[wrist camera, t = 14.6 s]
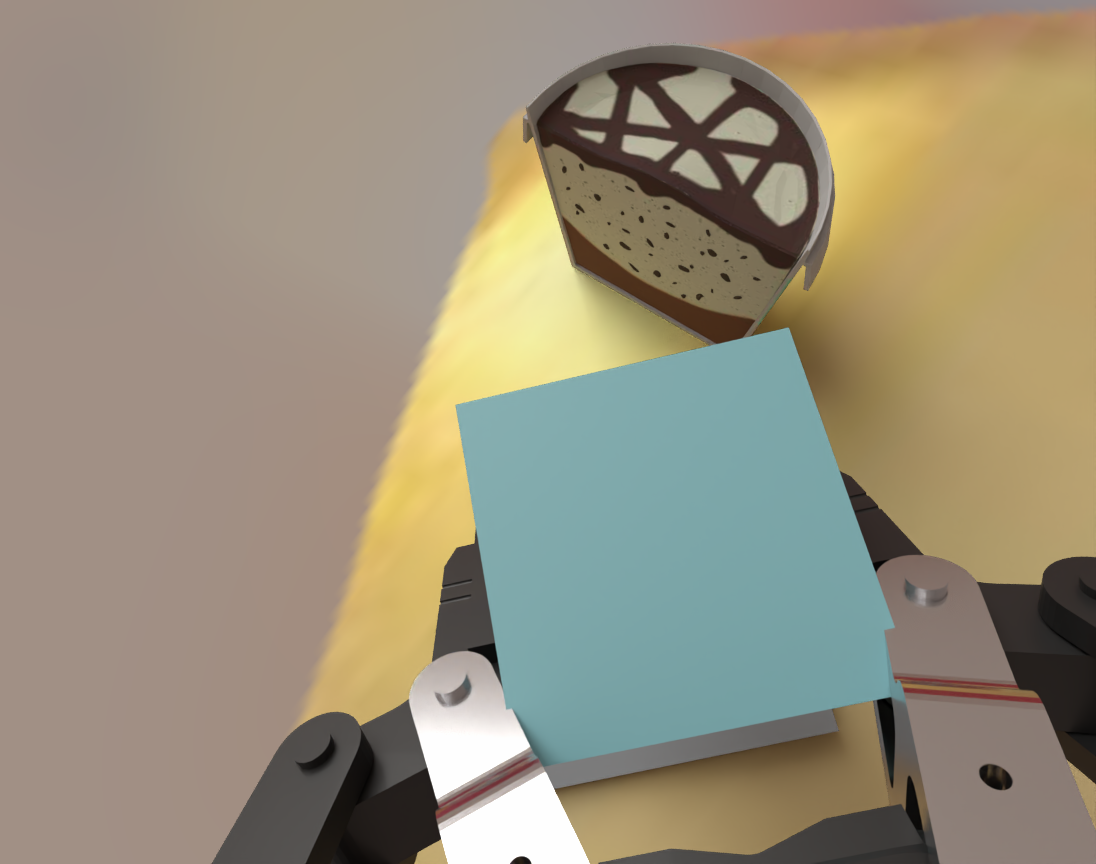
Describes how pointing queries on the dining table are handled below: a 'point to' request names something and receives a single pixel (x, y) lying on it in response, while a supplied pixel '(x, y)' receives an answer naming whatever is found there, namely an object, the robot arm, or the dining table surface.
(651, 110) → the food container
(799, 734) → the grey mat
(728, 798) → the dining table surface
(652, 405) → the teal block
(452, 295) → the dining table surface
